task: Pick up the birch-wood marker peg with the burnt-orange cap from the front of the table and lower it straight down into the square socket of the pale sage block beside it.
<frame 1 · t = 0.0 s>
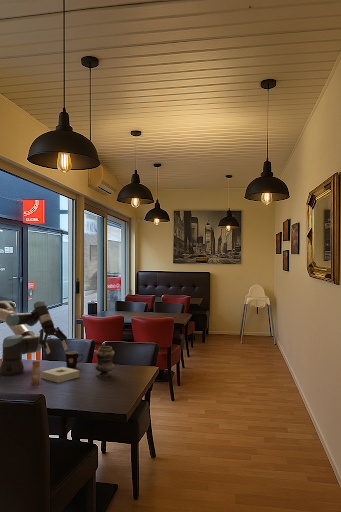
hand: (57, 351, 236), 15 cm above the table, tool tilted 35°, fingers open, 13 cm apart
coffee mug: (73, 367, 257), on the table
apothecary jar: (104, 376, 237), on the table
marker peg: (35, 384, 216), on the table
socket block: (60, 377, 231), on the table
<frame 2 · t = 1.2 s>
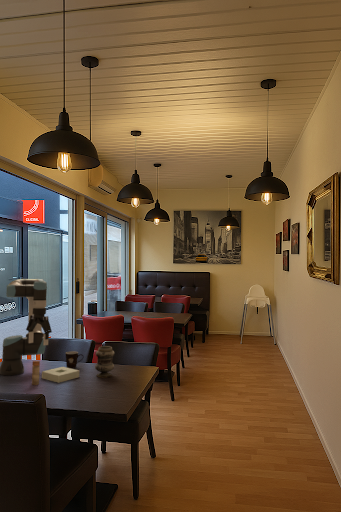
hand: (38, 344, 219), 23 cm above the table, tool pointing down, fingers open, 13 cm apart
nothing on the table moved.
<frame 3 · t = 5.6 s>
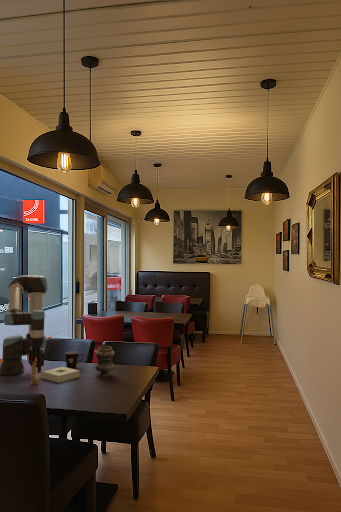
hand: (35, 377, 217), 4 cm above the table, tool pointing down, fingers closed on marker peg, 4 cm apart
marker peg: (35, 383, 217), on the table, touching gripper
everything else where it was.
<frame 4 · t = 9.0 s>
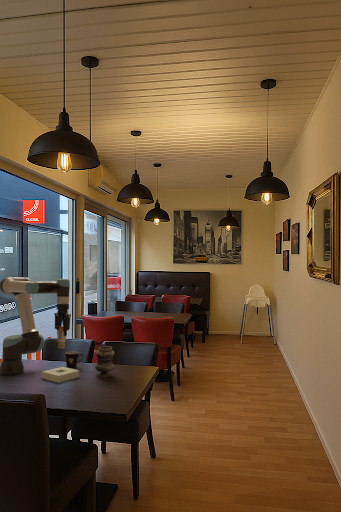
hand: (61, 340, 232), 23 cm above the table, tool pointing down, fingers closed on marker peg, 4 cm apart
marker peg: (61, 347, 232), point 18 cm above the table, touching gripper
everything else where it was.
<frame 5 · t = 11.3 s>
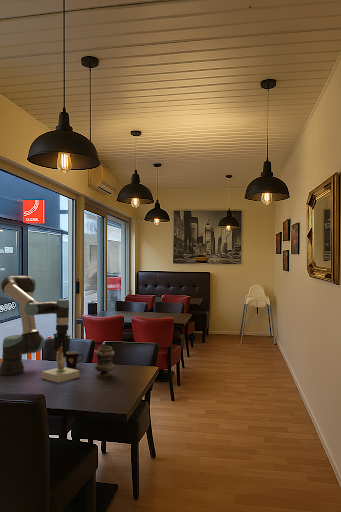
hand: (61, 361, 232), 10 cm above the table, tool pointing down, fingers closed on marker peg, 4 cm apart
marker peg: (60, 368, 231), point 5 cm above the table, touching gripper
everything else where it was.
when the fingers open (6 cm above the table, at t = 13.0 s): marker peg drops 1 cm, resting in socket block.
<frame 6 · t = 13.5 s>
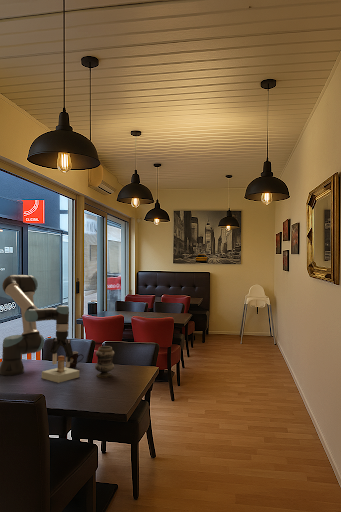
hand: (60, 365, 232), 7 cm above the table, tool pointing down, fingers open, 12 cm apart
marker peg: (60, 377, 231), resting in socket block
everything else where it was.
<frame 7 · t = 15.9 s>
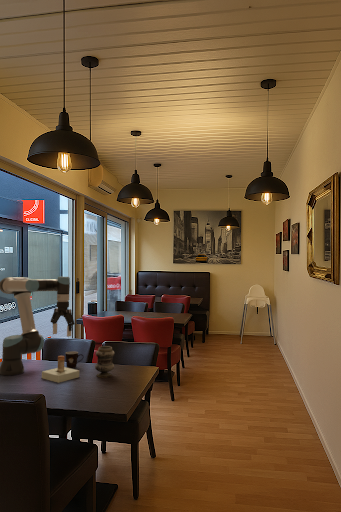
hand: (61, 335, 233), 26 cm above the table, tool pointing down, fingers open, 13 cm apart
nothing on the table moved.
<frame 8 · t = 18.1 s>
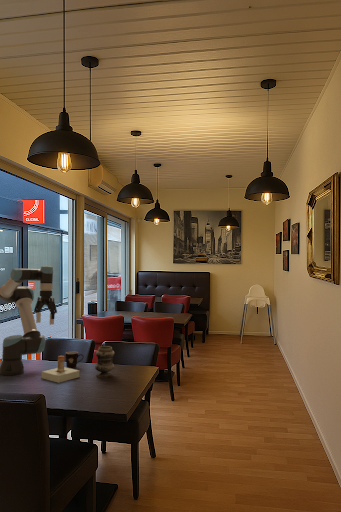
hand: (44, 323, 237), 33 cm above the table, tool pointing down, fingers open, 13 cm apart
nothing on the table moved.
at the end: marker peg 0.0 cm off-centre on the socket block, point 0.0 cm above the socket block's base; marker peg tilted 0°; the gripper is holding nothing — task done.
